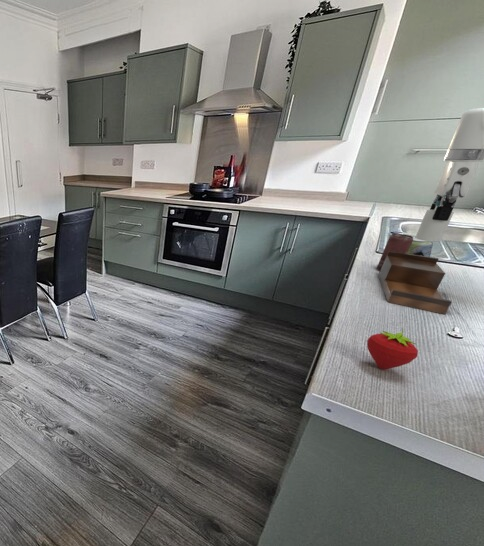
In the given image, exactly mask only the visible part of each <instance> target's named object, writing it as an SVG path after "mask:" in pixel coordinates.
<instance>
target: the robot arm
mask: <svg viewBox="0 0 484 546" xmlns="http://www.w3.org/2000/svg"><path fill="white" fill-rule="evenodd" d="M442 162H446V164H445V167H443V170H442V173H441V174H440V176H439V180H438V182H437V185H436V186H435V189H434V193H435V194H436V196H435V197H434V199H433V203H432V204H431V206H430V208H429V210H430V209H432V210H434V209H435V207H436V202H437V201H441V202H440V205H439V206H437V208H436V211H435V213H434V215H433V218H432V219H433V220H441V221H447V220H448V219H449V217H450V215H451V212H453V210H454V207H455V206H456V202H457V200H458V198H461V199H463V198H465V197H466V196H467V195H468V193H469V191H470V188H471V186H472V183H473V180H474V178H475V175H476V172H477V170H478V166H479V163H482V162H484V107H476V108H471V109H467V110H466V111H464V112H463V113H462V115H461V117H460V119H459V121H458V124H457V126H456V129H455V131H454V133H453V136H452V138H451V140H450V143H449V144H448V148H447V150H446V152H445V155H444V157H443V160H442Z"/></svg>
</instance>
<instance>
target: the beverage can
mask: <svg viewBox="0 0 484 546" xmlns="http://www.w3.org/2000/svg"><path fill="white" fill-rule="evenodd" d="M433 246H434V242H431V241H424V240H419V239H416V238H415V237H413V242H412V244H411V246H410V248H409V251H408V253H407V254H412V255H419V256H426V257H431V254H432V250H433Z"/></svg>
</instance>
